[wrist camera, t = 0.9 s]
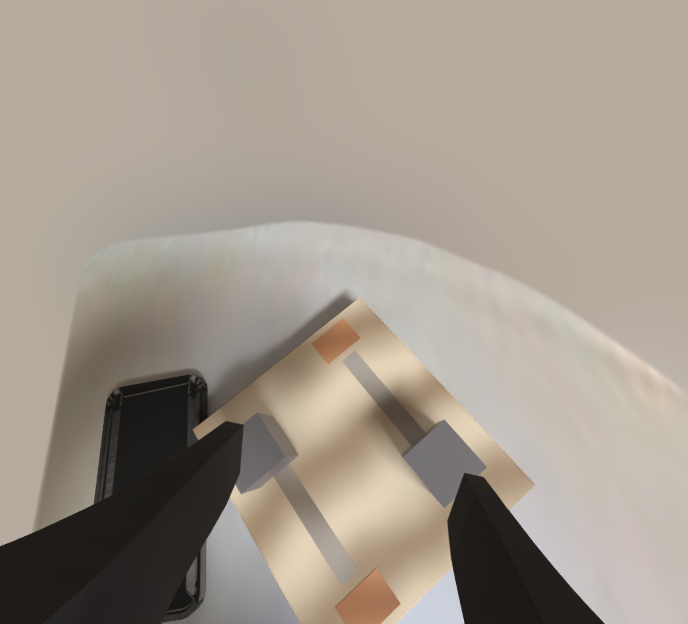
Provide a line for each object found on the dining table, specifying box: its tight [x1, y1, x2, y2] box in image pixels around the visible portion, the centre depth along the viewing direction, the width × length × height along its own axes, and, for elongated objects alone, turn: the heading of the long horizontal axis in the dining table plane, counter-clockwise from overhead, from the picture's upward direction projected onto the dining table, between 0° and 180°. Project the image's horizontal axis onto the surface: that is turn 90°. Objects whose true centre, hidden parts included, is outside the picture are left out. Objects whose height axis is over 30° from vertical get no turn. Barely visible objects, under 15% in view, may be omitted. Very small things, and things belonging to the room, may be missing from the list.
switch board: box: [193, 298, 535, 624], centre depth 22 cm, size 16×15×2 cm
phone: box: [94, 375, 207, 622], centre depth 23 cm, size 8×1×15 cm
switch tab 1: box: [235, 413, 298, 494], centre depth 20 cm, size 3×3×3 cm
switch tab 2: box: [401, 420, 487, 508], centre depth 19 cm, size 3×3×3 cm
